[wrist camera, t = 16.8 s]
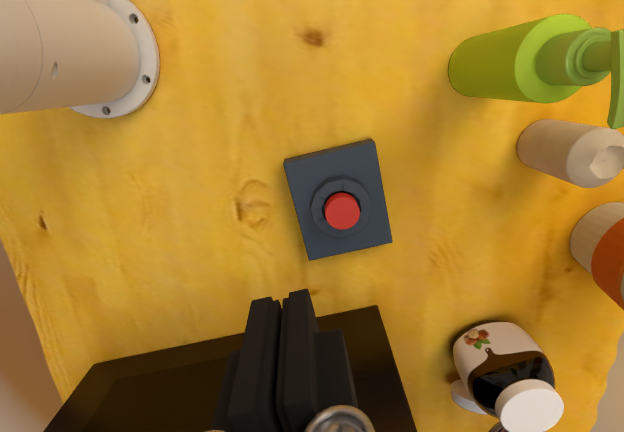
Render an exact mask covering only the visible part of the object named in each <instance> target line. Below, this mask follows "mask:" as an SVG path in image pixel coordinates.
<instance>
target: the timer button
mask: <svg viewBox="0 0 624 432" xmlns="http://www.w3.org/2000/svg"><path fill="white" fill-rule="evenodd" d="M325 216H326V220H327V222H328V223H329V224H330V225H331V226H332V227H334V228H336V229H341V230H342V229H348V228H350V227H352V226H353V225H355V224H356V222H357V221H358V219H359V216H360V210H359V207H358V204H357V202H356V200H355V199H354V197H352V196H351V195H349V194H347V193H336V194H334V195H332V196H331V197H330V198H329V199H328V200H327V202H326V204H325Z"/></svg>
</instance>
